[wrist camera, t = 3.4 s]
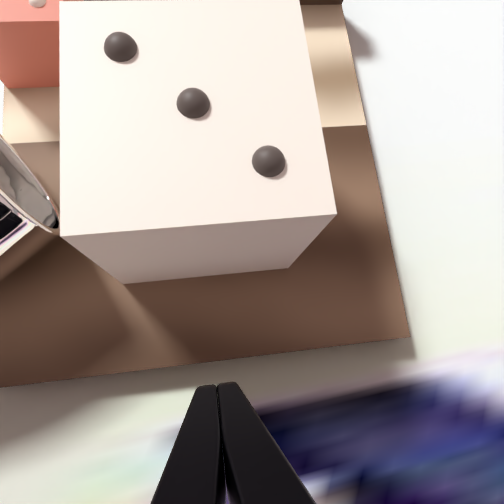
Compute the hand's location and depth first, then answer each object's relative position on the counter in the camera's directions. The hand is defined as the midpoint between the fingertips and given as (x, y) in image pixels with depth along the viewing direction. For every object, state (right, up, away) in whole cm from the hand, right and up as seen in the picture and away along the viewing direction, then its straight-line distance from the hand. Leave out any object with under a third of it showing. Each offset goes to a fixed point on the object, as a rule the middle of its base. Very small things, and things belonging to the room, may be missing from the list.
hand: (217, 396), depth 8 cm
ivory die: (-2, +6, +10) cm, 12 cm away
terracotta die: (-9, +13, +11) cm, 20 cm away
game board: (-2, +8, +12) cm, 15 cm away
